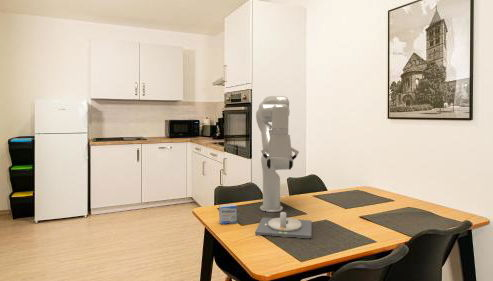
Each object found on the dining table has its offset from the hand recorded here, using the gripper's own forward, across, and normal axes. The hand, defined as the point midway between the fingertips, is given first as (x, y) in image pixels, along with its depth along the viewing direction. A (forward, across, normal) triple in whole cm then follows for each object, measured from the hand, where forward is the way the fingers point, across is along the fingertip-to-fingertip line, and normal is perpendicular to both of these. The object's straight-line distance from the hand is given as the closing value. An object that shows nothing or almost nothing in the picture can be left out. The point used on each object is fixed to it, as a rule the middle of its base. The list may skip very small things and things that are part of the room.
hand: (279, 168), depth 150 cm
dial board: (+27, +3, -5) cm, 28 cm away
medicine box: (+28, -25, -1) cm, 37 cm away
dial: (+25, +3, -6) cm, 26 cm away
